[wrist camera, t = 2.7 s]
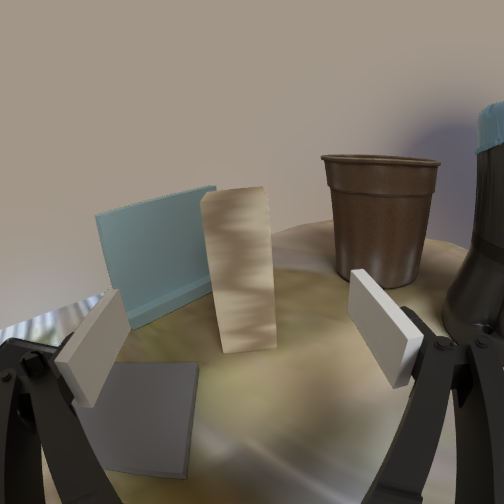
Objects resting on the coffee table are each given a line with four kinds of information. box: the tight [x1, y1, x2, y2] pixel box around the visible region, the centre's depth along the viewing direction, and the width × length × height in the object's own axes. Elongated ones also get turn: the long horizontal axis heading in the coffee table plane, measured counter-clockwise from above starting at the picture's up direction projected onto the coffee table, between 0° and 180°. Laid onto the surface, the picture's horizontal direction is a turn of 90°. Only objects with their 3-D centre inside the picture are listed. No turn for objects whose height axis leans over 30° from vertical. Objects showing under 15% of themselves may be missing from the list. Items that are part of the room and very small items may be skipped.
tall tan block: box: [200, 187, 277, 354], centre depth 26 cm, size 5×5×14 cm
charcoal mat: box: [72, 362, 199, 479], centre depth 18 cm, size 11×11×1 cm
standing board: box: [95, 186, 216, 330], centre depth 35 cm, size 5×16×13 cm, turn 137°
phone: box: [0, 337, 58, 376], centre depth 22 cm, size 8×1×15 cm
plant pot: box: [321, 155, 441, 289], centre depth 36 cm, size 16×16×16 cm
